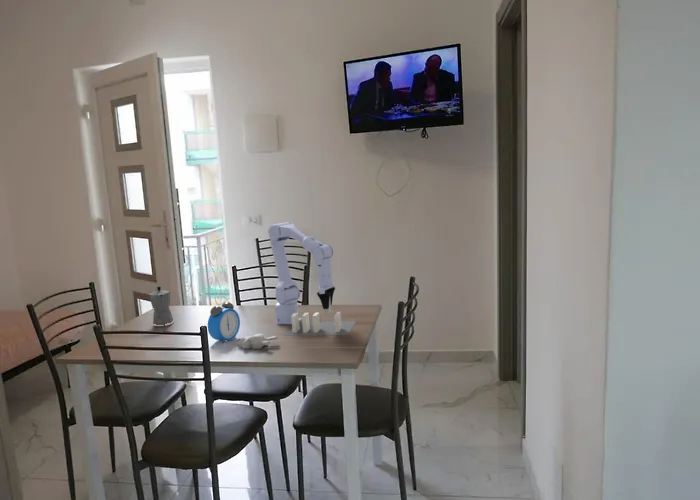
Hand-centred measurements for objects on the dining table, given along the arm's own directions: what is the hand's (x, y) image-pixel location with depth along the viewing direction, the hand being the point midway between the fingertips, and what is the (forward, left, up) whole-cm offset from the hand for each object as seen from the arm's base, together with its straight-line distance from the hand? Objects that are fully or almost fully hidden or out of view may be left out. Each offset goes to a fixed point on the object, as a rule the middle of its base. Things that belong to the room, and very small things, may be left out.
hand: (327, 306), depth 225 cm
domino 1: (-14, -2, -9) cm, 17 cm away
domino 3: (-5, -2, -9) cm, 11 cm away
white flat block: (+4, -2, -9) cm, 11 cm away
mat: (-4, +1, -10) cm, 10 cm away
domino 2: (-9, -2, -9) cm, 13 cm away
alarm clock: (-41, -12, -10) cm, 44 cm away
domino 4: (0, 0, -2) cm, 2 cm away
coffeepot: (-83, +12, -10) cm, 84 cm away
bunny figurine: (-23, -22, -10) cm, 33 cm away
